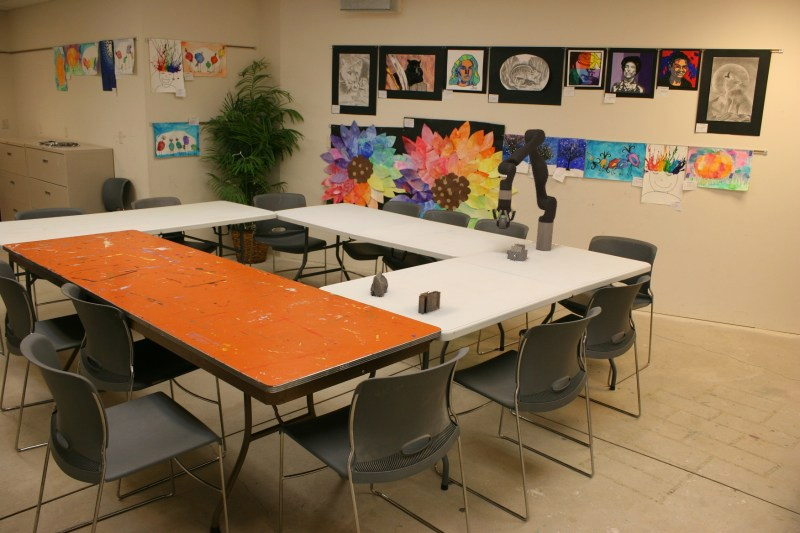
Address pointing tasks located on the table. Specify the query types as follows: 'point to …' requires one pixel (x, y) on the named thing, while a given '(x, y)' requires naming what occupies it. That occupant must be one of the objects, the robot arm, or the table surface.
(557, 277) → the table surface
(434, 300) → the brown flat block
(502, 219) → the pump
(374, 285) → the mineral rock
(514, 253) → the motor
